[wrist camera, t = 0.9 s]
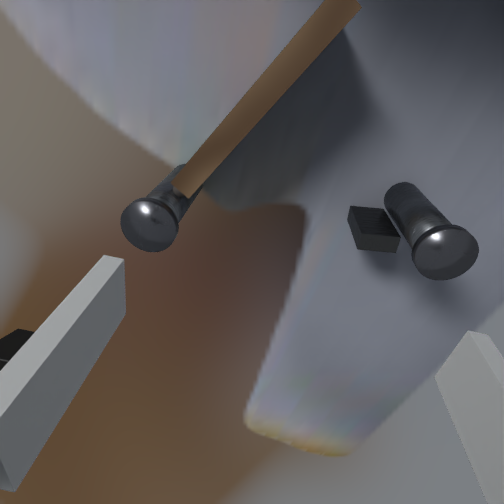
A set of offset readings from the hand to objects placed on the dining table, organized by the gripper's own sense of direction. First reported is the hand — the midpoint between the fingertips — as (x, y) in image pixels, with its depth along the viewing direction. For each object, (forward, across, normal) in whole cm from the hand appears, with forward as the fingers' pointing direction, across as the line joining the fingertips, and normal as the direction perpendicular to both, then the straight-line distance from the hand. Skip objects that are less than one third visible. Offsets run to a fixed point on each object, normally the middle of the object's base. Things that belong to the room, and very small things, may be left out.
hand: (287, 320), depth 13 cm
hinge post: (+22, -10, -4) cm, 24 cm away
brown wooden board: (+22, -4, +4) cm, 22 cm away
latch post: (+22, +10, -2) cm, 24 cm away
